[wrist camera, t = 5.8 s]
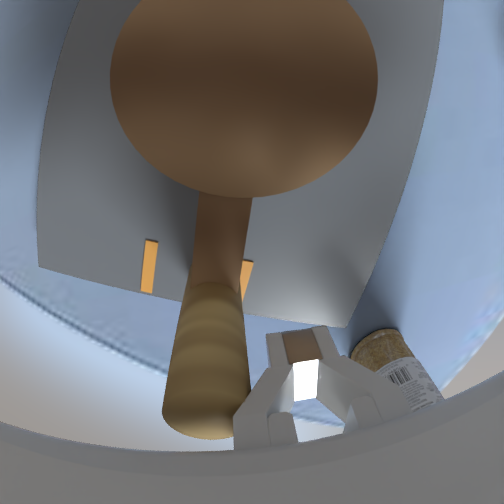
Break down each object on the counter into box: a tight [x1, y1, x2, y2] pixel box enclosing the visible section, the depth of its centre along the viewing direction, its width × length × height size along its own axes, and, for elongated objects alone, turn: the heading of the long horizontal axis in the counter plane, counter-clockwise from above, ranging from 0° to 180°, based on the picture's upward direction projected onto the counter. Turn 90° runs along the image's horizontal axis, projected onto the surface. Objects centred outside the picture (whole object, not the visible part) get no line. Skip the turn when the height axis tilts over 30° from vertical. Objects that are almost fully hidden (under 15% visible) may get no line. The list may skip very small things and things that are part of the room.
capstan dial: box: [110, 0, 378, 440], centre depth 8 cm, size 15×9×8 cm, turn 171°
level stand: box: [37, 0, 444, 328], centre depth 11 cm, size 24×18×2 cm
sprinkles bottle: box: [351, 329, 445, 412], centre depth 14 cm, size 5×5×13 cm
